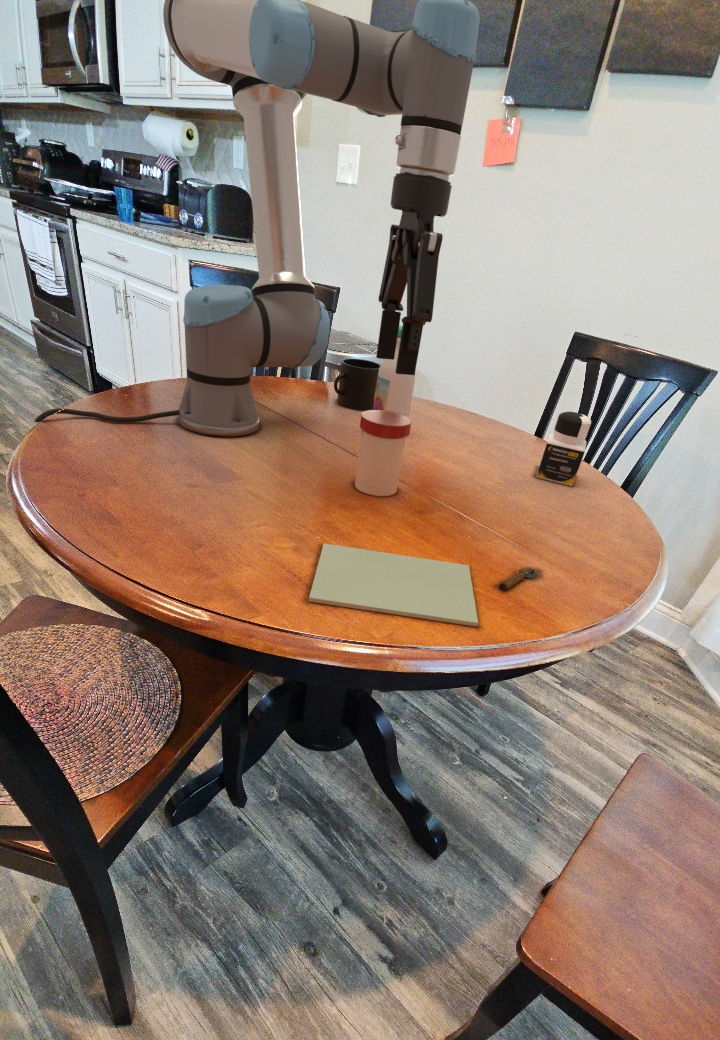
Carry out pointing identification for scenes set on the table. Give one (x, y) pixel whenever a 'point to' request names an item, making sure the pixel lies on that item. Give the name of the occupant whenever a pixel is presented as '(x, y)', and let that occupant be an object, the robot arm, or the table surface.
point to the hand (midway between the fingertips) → (394, 365)
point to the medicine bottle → (565, 449)
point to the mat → (394, 585)
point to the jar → (379, 464)
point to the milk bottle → (393, 386)
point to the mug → (357, 383)
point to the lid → (385, 424)
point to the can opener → (518, 578)
